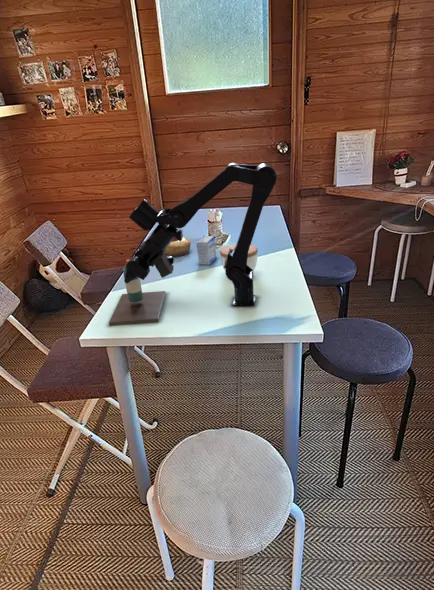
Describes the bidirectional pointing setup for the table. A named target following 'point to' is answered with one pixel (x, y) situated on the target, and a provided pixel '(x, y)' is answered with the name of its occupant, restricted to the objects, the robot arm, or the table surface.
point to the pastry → (178, 247)
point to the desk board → (138, 309)
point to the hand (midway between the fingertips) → (127, 279)
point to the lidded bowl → (250, 260)
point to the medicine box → (206, 250)
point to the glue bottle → (133, 287)
